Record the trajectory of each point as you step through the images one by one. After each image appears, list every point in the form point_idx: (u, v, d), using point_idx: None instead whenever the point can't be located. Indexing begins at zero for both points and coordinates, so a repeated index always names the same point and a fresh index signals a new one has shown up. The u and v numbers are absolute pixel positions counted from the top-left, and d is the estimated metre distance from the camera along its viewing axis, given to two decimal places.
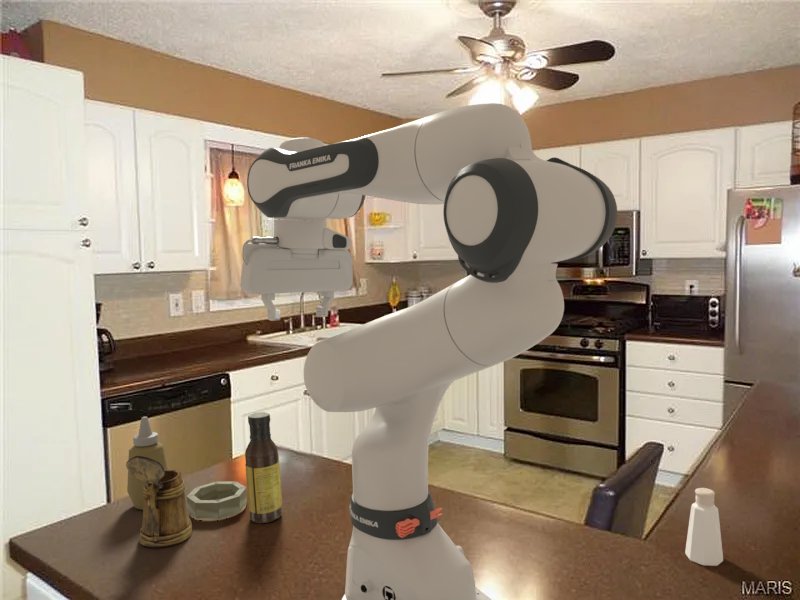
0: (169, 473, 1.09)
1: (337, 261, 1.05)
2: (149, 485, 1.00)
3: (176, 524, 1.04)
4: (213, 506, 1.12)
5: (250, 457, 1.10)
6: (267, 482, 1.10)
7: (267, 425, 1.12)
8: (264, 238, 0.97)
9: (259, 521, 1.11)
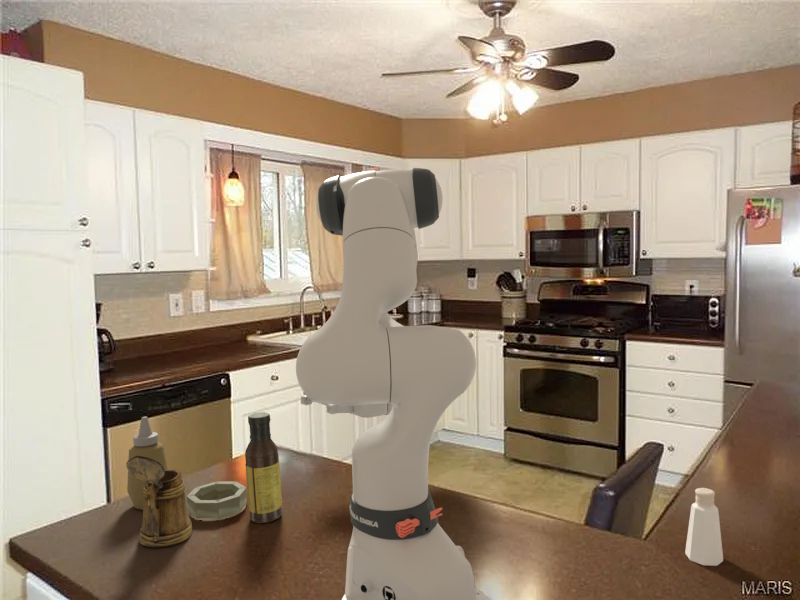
0: (169, 473, 1.09)
1: None
2: (149, 485, 1.00)
3: (176, 524, 1.04)
4: (213, 506, 1.12)
5: (250, 457, 1.10)
6: (267, 482, 1.10)
7: (267, 425, 1.12)
8: None
9: (259, 521, 1.11)
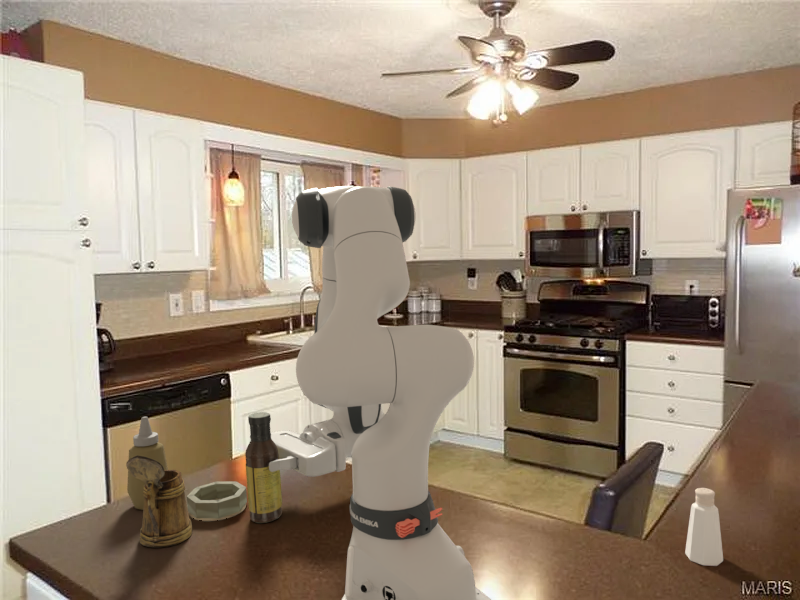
0: (169, 473, 1.09)
1: (322, 449, 1.14)
2: (149, 485, 1.00)
3: (176, 524, 1.04)
4: (213, 506, 1.12)
5: (250, 457, 1.10)
6: (267, 482, 1.10)
7: (267, 425, 1.12)
8: None
9: (259, 521, 1.11)
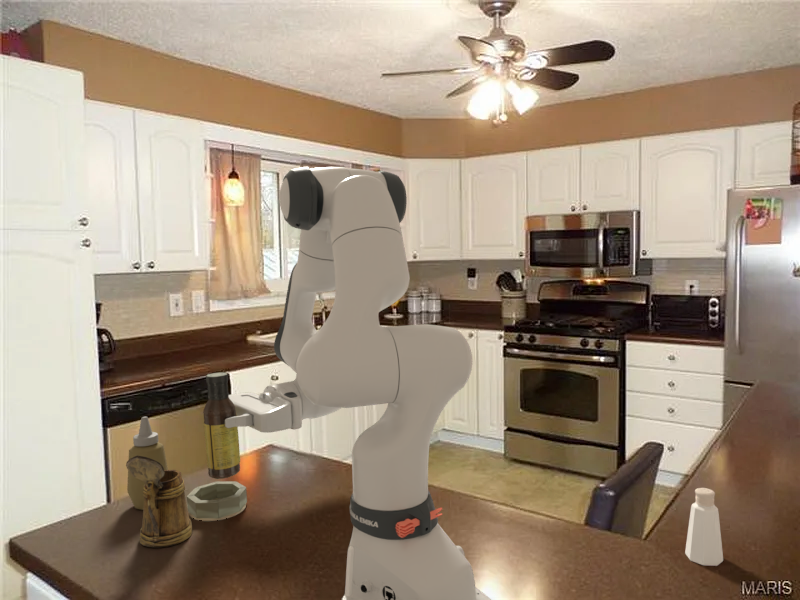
0: (169, 473, 1.09)
1: (278, 407, 1.17)
2: (149, 485, 1.00)
3: (176, 524, 1.04)
4: (213, 506, 1.12)
5: (207, 415, 1.14)
6: (224, 439, 1.14)
7: (224, 384, 1.15)
8: None
9: (216, 477, 1.14)
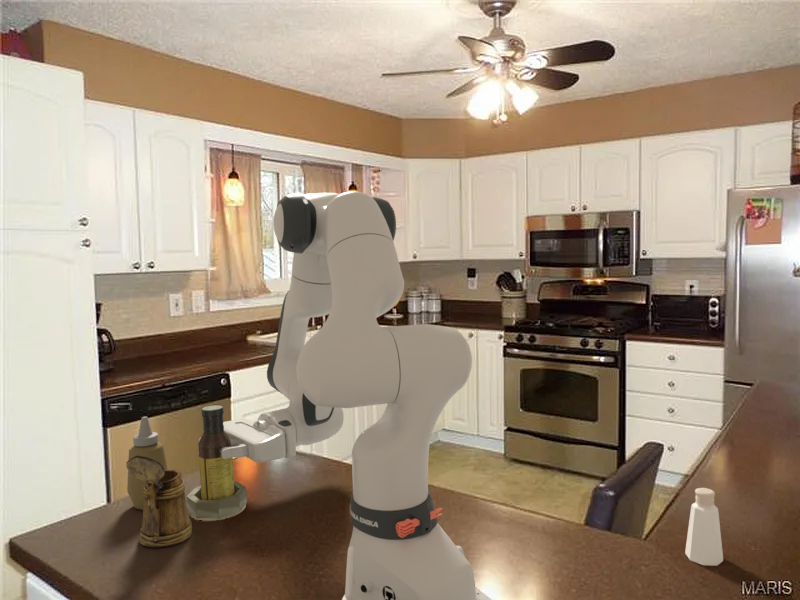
0: (169, 473, 1.09)
1: (272, 436, 1.18)
2: (149, 485, 1.00)
3: (176, 524, 1.04)
4: (213, 506, 1.12)
5: (202, 448, 1.14)
6: (219, 472, 1.14)
7: (220, 417, 1.16)
8: None
9: None
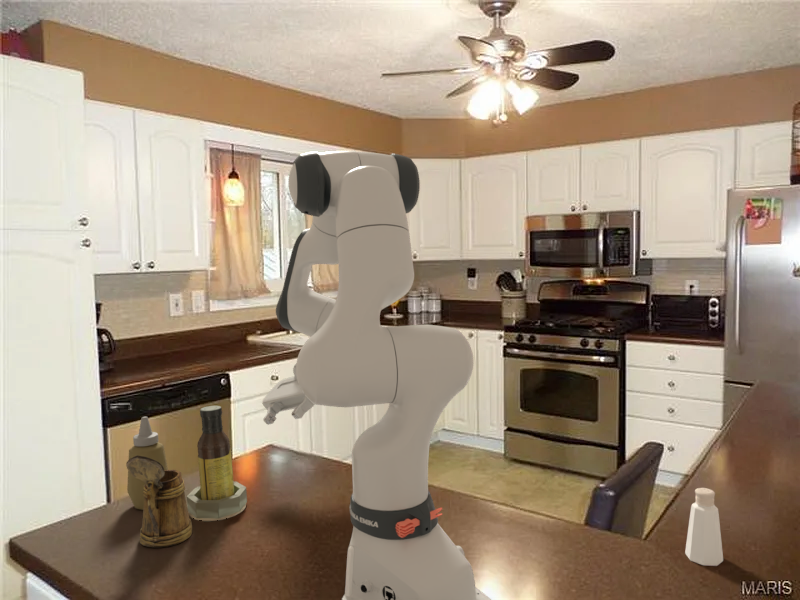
0: (169, 473, 1.09)
1: None
2: (149, 485, 1.00)
3: (176, 524, 1.04)
4: (213, 506, 1.12)
5: (201, 449, 1.14)
6: (218, 472, 1.14)
7: (218, 418, 1.15)
8: None
9: None
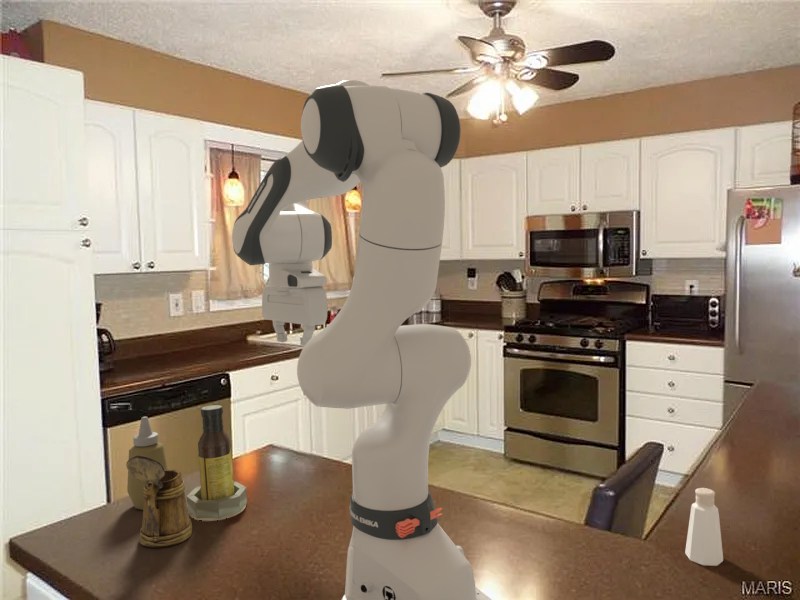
0: (169, 473, 1.09)
1: (303, 298, 1.17)
2: (149, 485, 1.00)
3: (176, 524, 1.04)
4: (213, 506, 1.12)
5: (202, 448, 1.14)
6: (219, 471, 1.15)
7: (219, 417, 1.16)
8: None
9: None
